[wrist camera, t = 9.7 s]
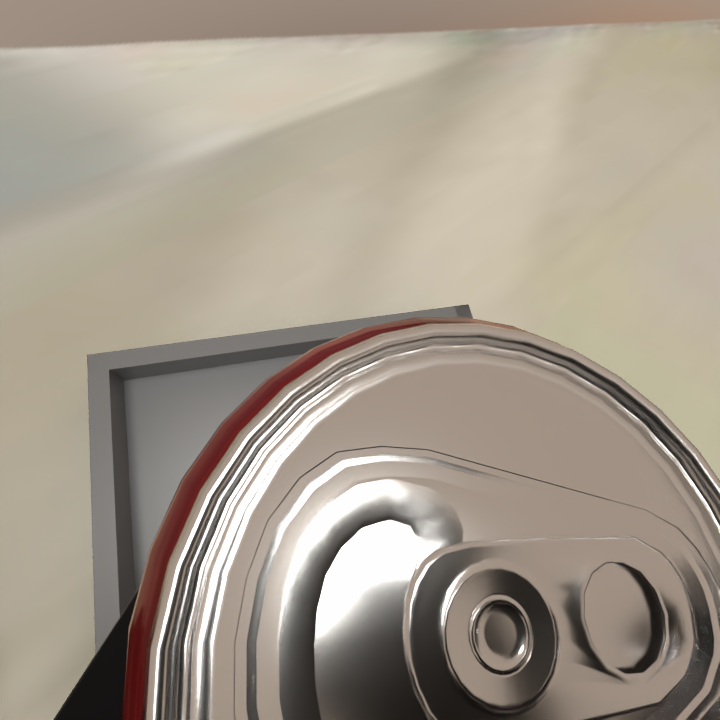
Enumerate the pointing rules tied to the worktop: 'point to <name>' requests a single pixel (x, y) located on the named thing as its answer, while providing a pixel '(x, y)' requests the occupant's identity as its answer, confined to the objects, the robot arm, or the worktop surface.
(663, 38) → the worktop surface
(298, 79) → the worktop surface
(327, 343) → the soda can
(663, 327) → the worktop surface
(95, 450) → the tray
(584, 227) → the worktop surface
